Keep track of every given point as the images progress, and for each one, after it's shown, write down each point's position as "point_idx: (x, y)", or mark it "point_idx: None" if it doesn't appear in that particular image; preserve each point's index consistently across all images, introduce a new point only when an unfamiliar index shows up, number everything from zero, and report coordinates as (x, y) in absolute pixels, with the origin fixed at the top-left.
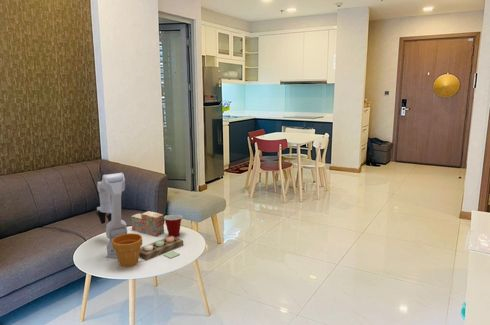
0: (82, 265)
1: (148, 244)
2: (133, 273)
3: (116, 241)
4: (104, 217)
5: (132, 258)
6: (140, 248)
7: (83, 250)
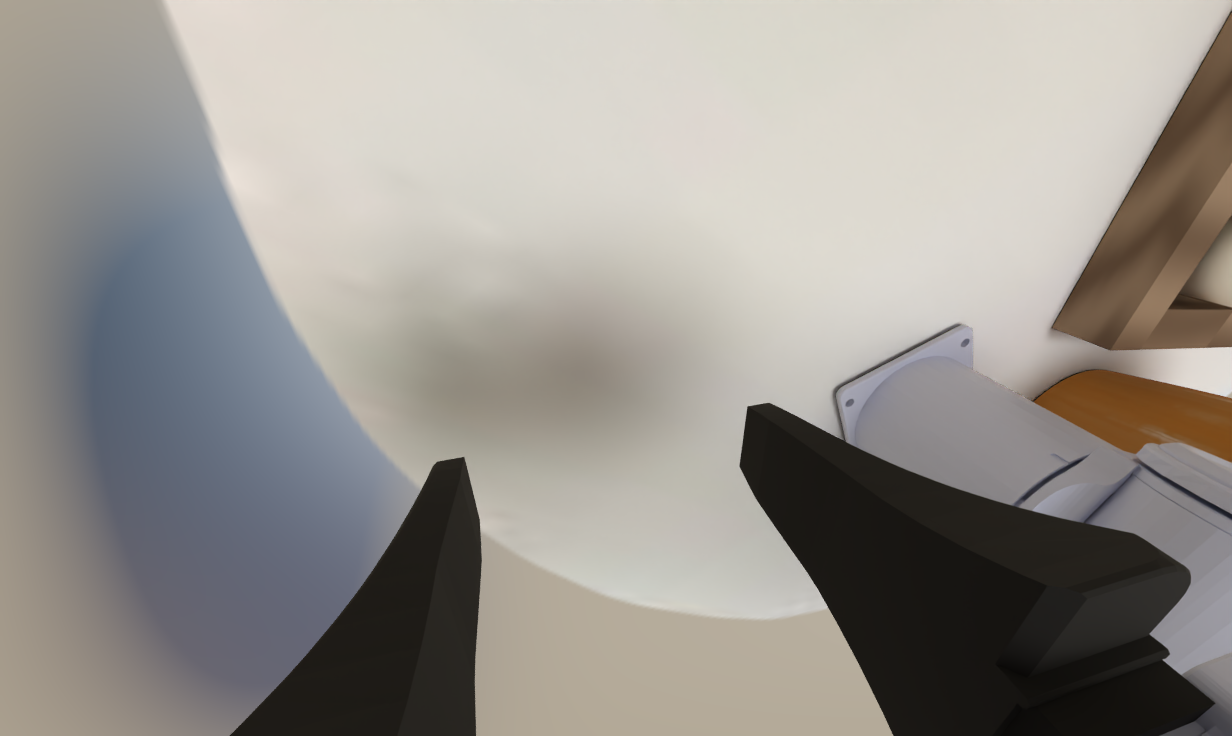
0: (794, 612)
1: (1218, 184)
2: None
3: None
4: (444, 580)
5: None
6: (1155, 305)
7: (586, 565)
